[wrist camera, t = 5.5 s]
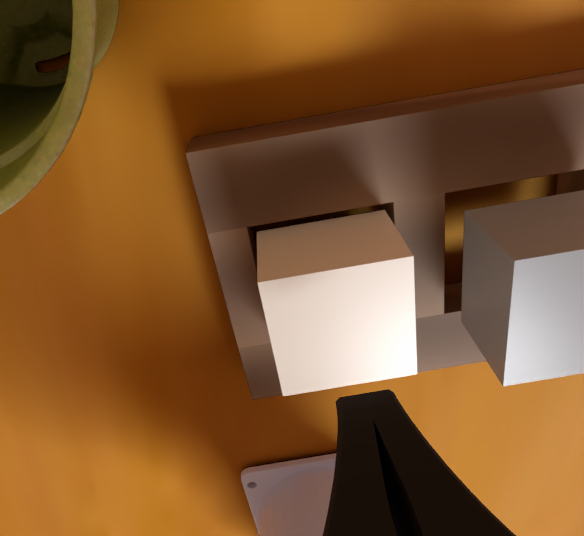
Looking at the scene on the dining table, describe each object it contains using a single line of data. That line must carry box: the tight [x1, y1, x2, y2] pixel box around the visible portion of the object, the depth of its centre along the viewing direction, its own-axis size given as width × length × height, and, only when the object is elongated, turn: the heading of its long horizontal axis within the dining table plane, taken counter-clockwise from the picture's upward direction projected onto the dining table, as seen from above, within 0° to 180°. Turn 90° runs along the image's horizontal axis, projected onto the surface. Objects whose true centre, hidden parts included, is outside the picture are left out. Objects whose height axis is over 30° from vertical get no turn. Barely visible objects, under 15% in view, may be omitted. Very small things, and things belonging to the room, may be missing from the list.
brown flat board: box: [185, 69, 584, 400], centre depth 19 cm, size 11×22×2 cm, turn 99°
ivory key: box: [257, 210, 417, 396], centre depth 16 cm, size 5×5×4 cm
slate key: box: [461, 190, 584, 386], centre depth 15 cm, size 5×5×4 cm
